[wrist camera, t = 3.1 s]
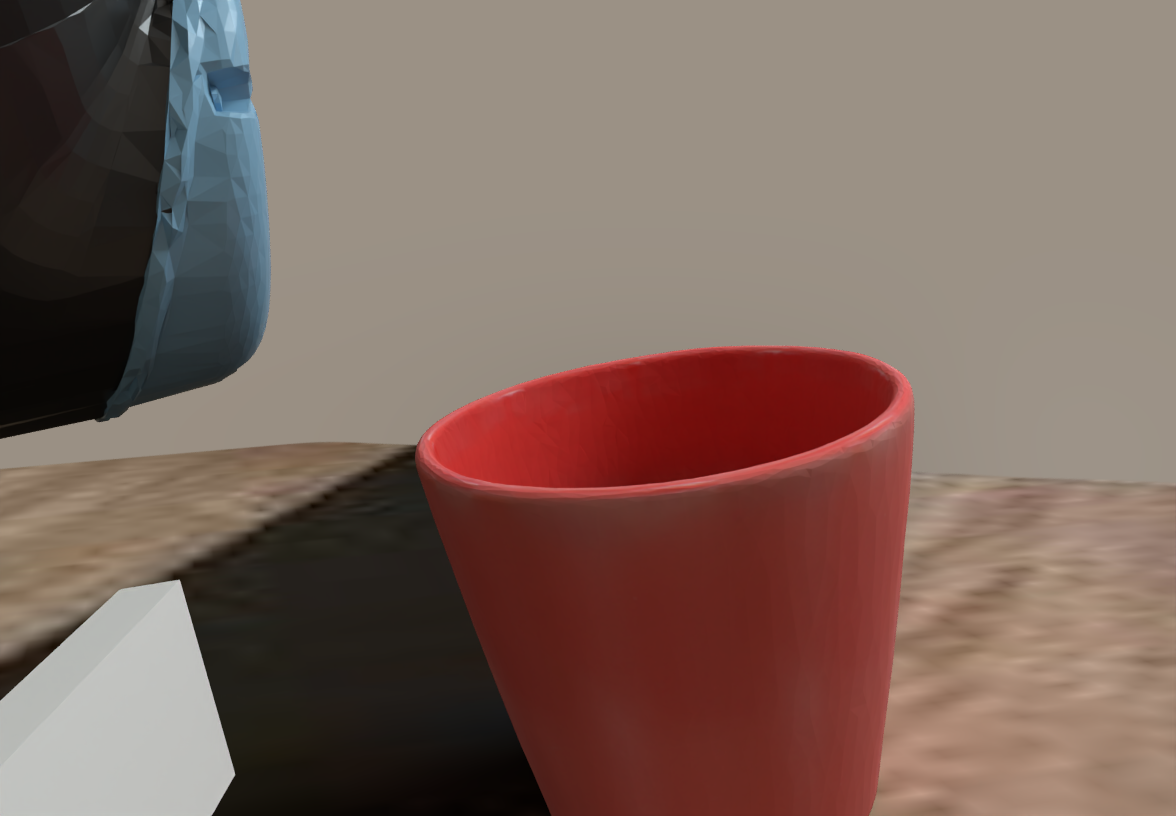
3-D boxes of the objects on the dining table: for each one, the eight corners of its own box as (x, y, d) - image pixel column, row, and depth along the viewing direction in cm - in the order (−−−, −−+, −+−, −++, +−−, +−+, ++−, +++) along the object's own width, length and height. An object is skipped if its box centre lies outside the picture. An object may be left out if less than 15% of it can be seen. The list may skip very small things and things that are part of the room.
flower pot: (913, 656, 29) (880, 317, 27) (994, 961, 19) (954, 454, 16) (546, 680, 31) (485, 368, 29) (439, 966, 21) (330, 517, 19)
